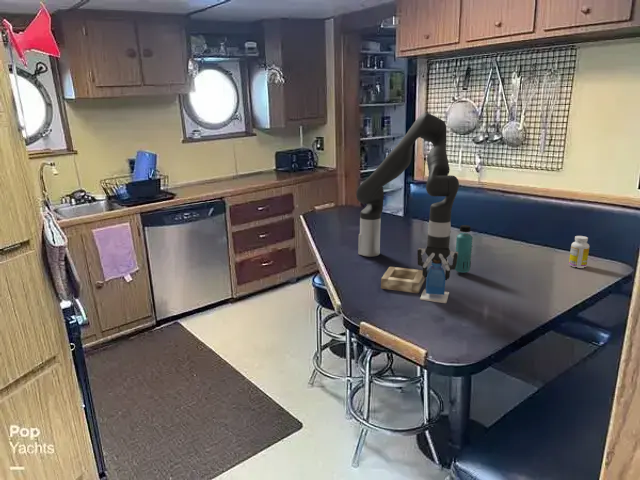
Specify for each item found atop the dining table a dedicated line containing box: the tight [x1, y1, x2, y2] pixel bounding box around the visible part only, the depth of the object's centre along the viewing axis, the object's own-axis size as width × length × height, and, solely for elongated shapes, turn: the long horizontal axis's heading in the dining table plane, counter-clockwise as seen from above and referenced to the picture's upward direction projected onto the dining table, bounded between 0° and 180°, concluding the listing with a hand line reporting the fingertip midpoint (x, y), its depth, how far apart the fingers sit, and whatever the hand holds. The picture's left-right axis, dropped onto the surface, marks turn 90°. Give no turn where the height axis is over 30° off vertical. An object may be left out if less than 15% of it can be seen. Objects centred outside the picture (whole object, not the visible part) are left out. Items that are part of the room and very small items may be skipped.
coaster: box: [419, 288, 450, 304], centre depth 166 cm, size 9×9×1 cm
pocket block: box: [380, 266, 426, 294], centre depth 177 cm, size 14×14×4 cm
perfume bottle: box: [425, 260, 446, 295], centre depth 164 cm, size 6×6×12 cm
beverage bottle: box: [454, 224, 473, 273], centre depth 186 cm, size 6×7×20 cm
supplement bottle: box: [568, 235, 590, 267], centre depth 194 cm, size 7×7×13 cm
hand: (435, 278), depth 164 cm, fingers closed on perfume bottle, 6 cm apart
